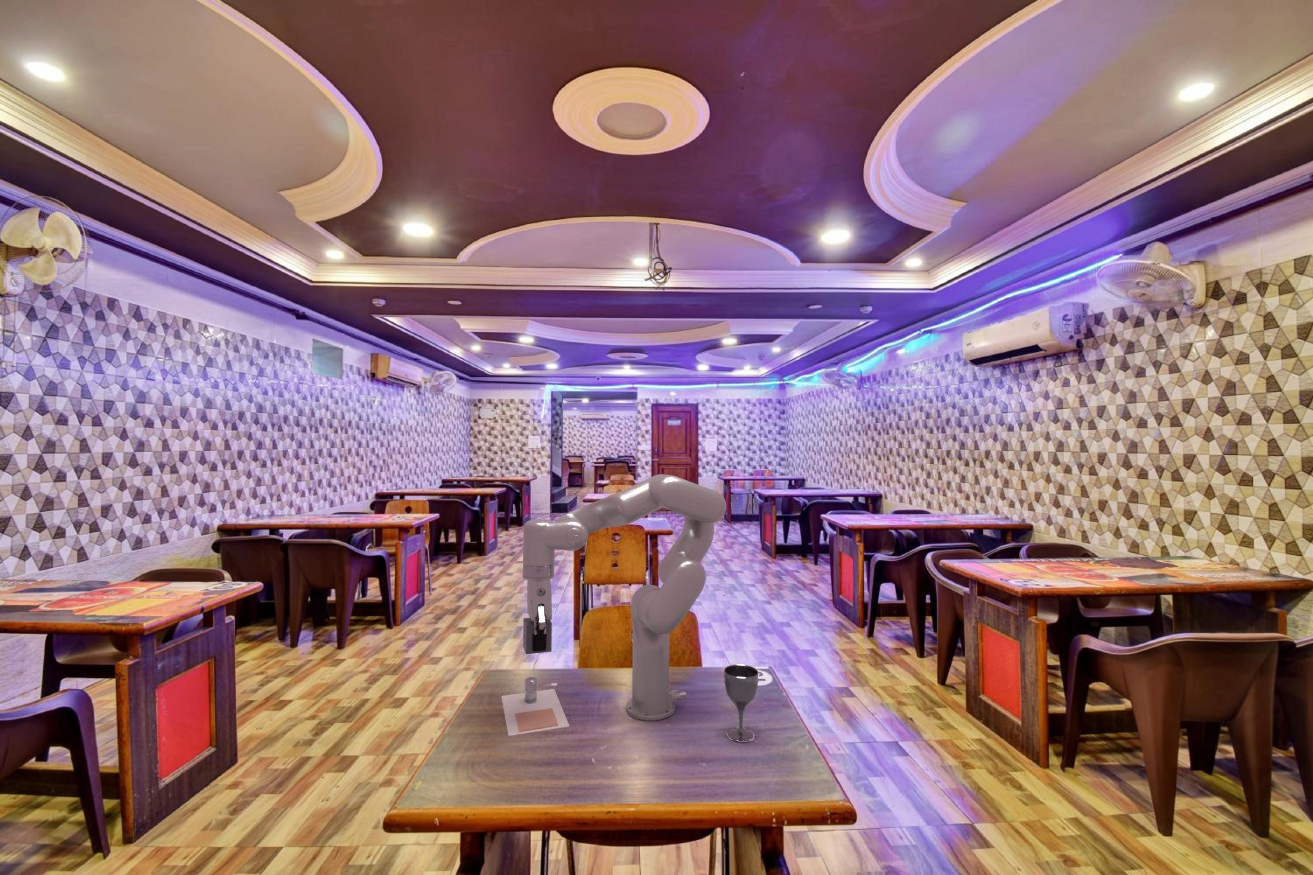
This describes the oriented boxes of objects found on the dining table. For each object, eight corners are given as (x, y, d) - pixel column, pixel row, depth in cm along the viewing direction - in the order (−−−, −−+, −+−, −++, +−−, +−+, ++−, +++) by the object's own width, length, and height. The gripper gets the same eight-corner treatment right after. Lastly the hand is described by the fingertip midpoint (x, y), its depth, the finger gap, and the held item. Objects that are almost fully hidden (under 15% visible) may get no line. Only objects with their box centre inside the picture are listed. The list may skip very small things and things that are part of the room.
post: (535, 697, 146) (536, 676, 147) (537, 702, 144) (537, 680, 144) (524, 699, 145) (524, 677, 146) (525, 704, 143) (525, 682, 143)
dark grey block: (551, 651, 133) (551, 622, 133) (525, 654, 131) (526, 624, 131) (547, 643, 138) (548, 615, 139) (523, 646, 136) (523, 617, 137)
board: (554, 694, 152) (554, 687, 152) (569, 732, 131) (569, 724, 131) (501, 701, 147) (501, 694, 147) (508, 742, 127) (508, 734, 127)
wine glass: (764, 734, 131) (764, 670, 132) (745, 747, 125) (745, 680, 126) (736, 723, 137) (736, 661, 137) (717, 735, 131) (717, 670, 131)
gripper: (560, 577, 128) (558, 656, 128) (548, 563, 145) (547, 633, 144) (526, 579, 126) (525, 660, 125) (519, 565, 142) (518, 636, 142)
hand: (537, 645), depth 135 cm, fingers closed on dark grey block, 5 cm apart
